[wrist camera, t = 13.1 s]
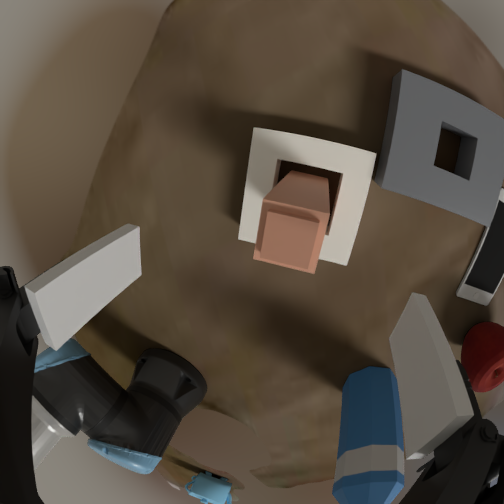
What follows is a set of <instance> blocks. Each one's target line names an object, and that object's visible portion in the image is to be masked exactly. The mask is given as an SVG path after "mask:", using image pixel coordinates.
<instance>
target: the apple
mask: <svg viewBox="0 0 504 504" xmlns="http://www.w3.org/2000/svg"><path fill="white" fill-rule="evenodd" d="M461 364H462V366H463V367H464V368H465V370H466V372H467V375H468V377H469V382H470V383H471V386H472V390H474V391H475V392H487V391H490V390H492V389H493V388H495V387H497V386H498V385H499V384H501V383H502V382H503V381H504V327H503V326H501V325H499V324H497V323H493V322H482V323H479V324H477V325H475V326H473V327H472V328H471V329H470V330H469V332H468V333H467V335H466V336H465V339H464V342H463V345H462V351H461Z"/></svg>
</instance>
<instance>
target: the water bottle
mask: <svg viewBox="0 0 504 504" xmlns="http://www.w3.org/2000/svg"><path fill="white" fill-rule="evenodd" d="M403 487H404V446H403V430H402V418H401V408H400V399H399V391H398V383H397V379H396V377H395V376H394V374H393V373H392V371H391V369H390V368H381V367H372V366H369V367H367V368H364V369H362V370H359V371H357V372H354V373H352V374H350V375H349V376H348V378H347V380H346V382H345V384H344V386H343V393H342V411H341V424H340V436H339V446H338V455H337V463H336V471H335V478H334V485H333V492H332V494H333V496H334V497H335V498H336V500H337V501H338V502H339V503H340V504H390V503H391V502H392V501H393V499H394V498H395V497H396V495H397V494H398V493H399V492H400V491H401V489H402V488H403Z"/></svg>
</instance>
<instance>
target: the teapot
mask: <svg viewBox="0 0 504 504" xmlns="http://www.w3.org/2000/svg"><path fill="white" fill-rule="evenodd" d="M205 473H206V474H204V473H201V472H200V473H199V474H198V475H197V476H193V477H192V480H193V481H191V482H189V483H187V484H186V485H185V489H186V490H187V491H188V492H189V493H188V494H189V495H191V496H194V497H196V498H199V499H202V500H200V502H202V503H205V504H208V502H210V503H213V504H224V503H225V501H226V500H227V504H231V494H230V492H229V491H230V488H231V485H232V483H229V482H226V481H227V480H228V479H226V478H223V477H221V478H220V479H217V478H214V477H212V473H210V472H207V471H205ZM194 478H195V480H194ZM192 483H193V485H192V487H191V489H190V490H189V489H188V488H187V487H188V485H190V484H192Z"/></svg>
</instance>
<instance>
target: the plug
mask: <svg viewBox="0 0 504 504" xmlns="http://www.w3.org/2000/svg"><path fill="white" fill-rule="evenodd" d="M329 216H330V203H329V185H328V178H325V177H320V176H316V175H312V174H307V173H303V172H298V171H293V170H291V171H290V172H289V173H288V174H287V175H286V176H285V177H284V178H283V179H282V180H281V181H280V182H279V183H278V184H277V185H276V186H275V187H274V188H273V189H272V190H271V191H270V192H269V193H268V194H267V195H266V196H265V197H264V198H263V201H262V207H261V213H260V219H259V226H258V232H257V238H256V245H255V251H254V257H253V259H256V260H260V261H264V262H268V263H272V264H276V265H280V266H284V267H288V268H293V269H297V270H301V271H305V272H309V273H313V274H314V273H315V269H316V266H317V262H318V258H319V255H320V251H321V247H322V244H323V240H324V236H325V232H326V228H327V224H328V220H329Z"/></svg>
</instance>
